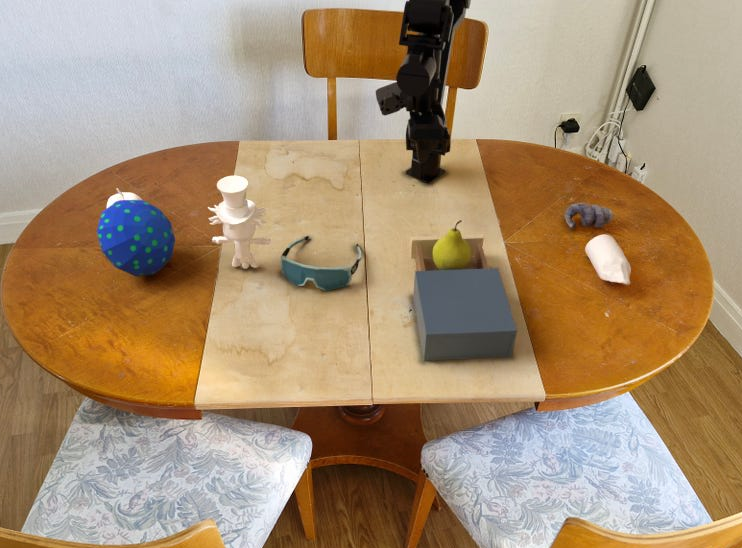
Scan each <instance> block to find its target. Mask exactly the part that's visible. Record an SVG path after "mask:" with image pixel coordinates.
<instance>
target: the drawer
mask: <svg viewBox="0 0 742 548" xmlns="http://www.w3.org/2000/svg"><path fill="white" fill-rule="evenodd" d="M445 236H446V234H445V235H444V234H443V235H415V236H413V235H412V236H410V246H409V247H410V248H409V249H410V250H409V258H410V259H415V261H414V263H415V268H416V271H433V270H439V269H438V267H437V266H436V265H435V263H434V260H433V247H434V245H435V244H436V242H437V241H438V240H439V239H440V238H442V237H445ZM461 236H462V239H464V240H465V241H466V242H467V243H468V245H469V246H470V249H471V259H470V262H469V264H468V266H467V267H466V268H465V269H489V265H488V262H487V258H486V256H485V255H486V254H485V251H484V249H483V246H484V239H485V237H484V234H483V233H475V234H474V233H473V234H461Z"/></svg>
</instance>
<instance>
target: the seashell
mask: <svg viewBox="0 0 742 548" xmlns="http://www.w3.org/2000/svg"><path fill="white" fill-rule="evenodd" d="M563 215H564V218H565V222H566V224H567V226H568V227H569V229H573V230H574V229H575V227H576V226H577V225H576V224H577V223H576V222H575V221H574V220H573V218H574V217H575V216H577V215H579V216H580V217H581V218H580V221H581V222H580V223H581V225H582V226H583V227H586V228H590V227H592V226H593V227H594V228H595V229H599V228H604V227H606V225H607V224H609V223H611V222H612V220H614V217H615V215H614V212H613V211H612V210H611V209H610V208H609V207H607V206H600V205H598V204H591V205H590V204H589V203H585V202H577V203H570V205H569V206H568V207H567V208H566V209H565V211H564V212H563Z"/></svg>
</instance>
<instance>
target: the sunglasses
mask: <svg viewBox="0 0 742 548" xmlns="http://www.w3.org/2000/svg"><path fill="white" fill-rule="evenodd" d="M309 237H310V236H309V235H307V236H304V237H301V238H298V239H297V240H294V241H293V242H291V243H290V244H288V245H287V247H286V248H285V250H284V251H283V252H282V254H281V255H280V267H281V271H282V275H284V276H285V278H286V279H287V280H289V282H291V283H292V284H293V285H295V286H297V287H302V286H303V287H304V286H307V284H308V282H309V281H311V282H313V285H314V286H315V287H316V288H317V289H320V290H322V291H325V292H327V291H332V290H338V289H341V288H344V287H346V286H348V285H349V284H350V282H351V281H352V278H353V275H354V274H355V273H356V271H357V270H358V268H359V263H360V261H362V250H361V248H360V246H359V244H358V243H356V250H357V252H358V258H356V261H355V263H354V264H353V265H352V266H347V265H346V266H345V265H344V266H334V267H333V266H331V267H329V266H328V267H327V266H316V265H315V266H314V265H306V264H303V263H301V262H298V261H295V260H292V259H290V258H288V255H289V254H290V251H291V250H292V248H293V247H295V246H296V245H298V244H300V243H304V242H305V241H308V240H309Z"/></svg>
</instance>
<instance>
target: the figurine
mask: <svg viewBox="0 0 742 548" xmlns="http://www.w3.org/2000/svg"><path fill="white" fill-rule="evenodd" d="M248 186H249V181H248V180H247V178H245V177H244V176H241V175H228V176H224V177H222V178H220V179H219V180H218V181H217V183H216V188H217V190H218V191H219V192H220V194H221V196H222V199H223V201H221V202H220V203H219V204H218V205H216V204H214V207H210V206H207V209H208V210H209V211H210V212H212V213H215V214H216V215H214V216H212V217H208V220H209V221H210V223H208V224H209V225H211V226H214V225H218V224H219V225H221V224H222V233H223V236H221V235H219V236H213V237H212V239H211V241H212V243H214V244H216V245H219V244H220V245H221V244H233V245H234V250H235V253H234V254H233V258H232V262H231V266H232V268H233V267H234V268H236V267H240V265H241V267H242V269H245V270H247V269H248V268H249V267H252V268H258V267H259V266H260V265H259V263H258V261H257V260H256V258H255V256H254V255H253V253H252V252H251V244H252V245H260V246H266V245H270V244H271V238H267V237H255V238H254V236H255V233H256V230H257V227H259V228H262V227H263V226H264V225H262V224H267V223H268V221H267V220H264V219H263V218H262V217H265V214H264V213H265V212H266V209H264V208H265V207H264V206H262V207H257V205H256V203H255V202H254V201H252V200H250V199H247V189H248ZM240 260H243V262H241V264H240ZM248 260H249V262H250V264H249V262H248Z"/></svg>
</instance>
